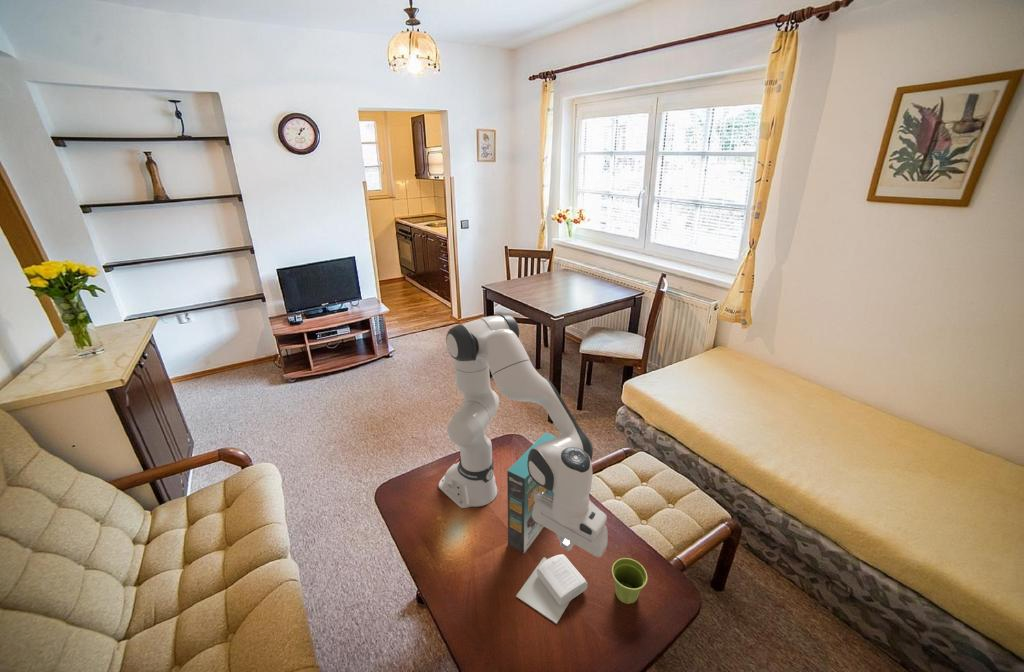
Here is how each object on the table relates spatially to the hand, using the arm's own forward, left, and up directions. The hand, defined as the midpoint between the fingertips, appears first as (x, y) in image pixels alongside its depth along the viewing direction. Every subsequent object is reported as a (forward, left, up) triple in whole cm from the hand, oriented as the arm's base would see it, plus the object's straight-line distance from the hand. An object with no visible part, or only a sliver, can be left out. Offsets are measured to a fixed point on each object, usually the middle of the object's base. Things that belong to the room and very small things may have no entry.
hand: (565, 546), depth 109 cm
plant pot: (+14, +11, -20) cm, 27 cm away
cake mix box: (-20, +16, -20) cm, 32 cm away
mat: (-4, 0, -20) cm, 20 cm away
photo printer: (+3, +1, -17) cm, 17 cm away
